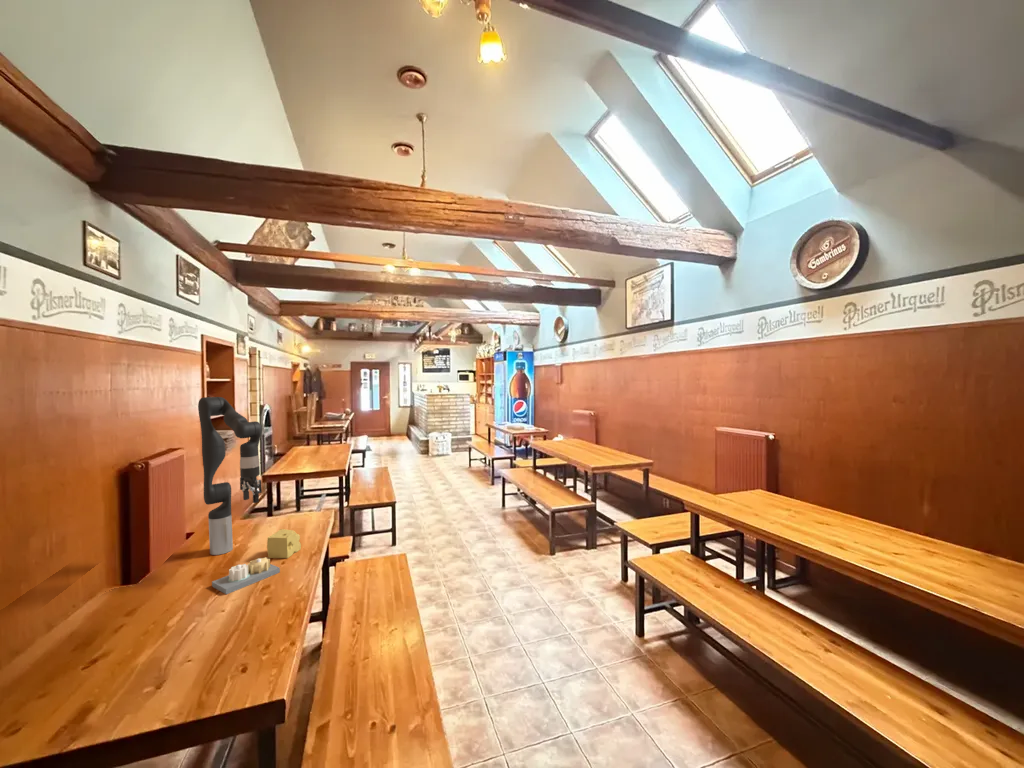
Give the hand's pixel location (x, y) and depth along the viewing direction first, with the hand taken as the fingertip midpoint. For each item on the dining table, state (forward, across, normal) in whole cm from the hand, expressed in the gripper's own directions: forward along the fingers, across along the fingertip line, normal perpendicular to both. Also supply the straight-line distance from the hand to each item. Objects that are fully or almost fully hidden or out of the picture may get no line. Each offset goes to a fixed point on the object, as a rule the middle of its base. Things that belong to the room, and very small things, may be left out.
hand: (251, 501), depth 193 cm
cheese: (+28, +4, +12) cm, 31 cm away
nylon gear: (+26, +15, -13) cm, 33 cm away
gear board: (+28, +15, -10) cm, 33 cm away
